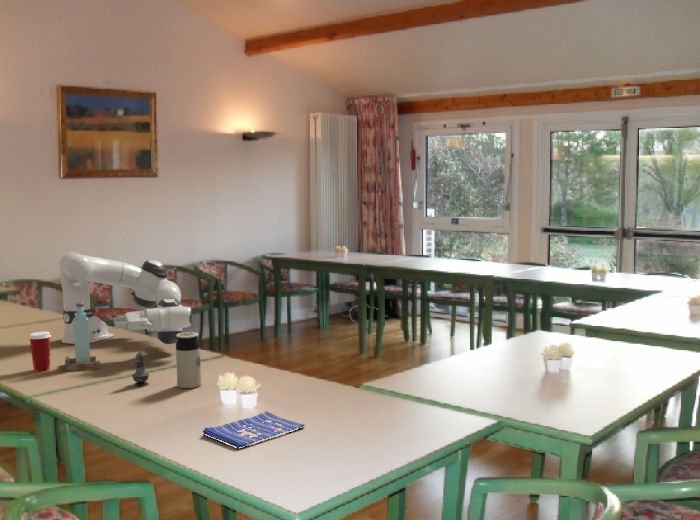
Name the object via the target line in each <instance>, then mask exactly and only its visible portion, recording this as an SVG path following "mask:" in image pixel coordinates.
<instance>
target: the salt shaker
mask: <svg viewBox="0 0 700 520" xmlns="http://www.w3.org/2000/svg"><path fill="white" fill-rule="evenodd" d="M134 365H135V372H134V373H132V375H131V376H132V379H133V382H134V383H133V384H132V385H133V387H136V388H139V387H141V388H142V387H146V386H149V385H150V383H149V382H148V380H149V377H150V372H147V371H146V368H145V367H146V362H145V355H144V353H143V352H141V350H139V351H138V353H136V355H135V363H134Z"/></svg>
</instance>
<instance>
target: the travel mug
mask: <svg viewBox="0 0 700 520" xmlns="http://www.w3.org/2000/svg"><path fill="white" fill-rule="evenodd" d="M199 334H200V333H198V332H193V331H190V332H189V331H187V332H186V331H185V332H182V333H179V334H177V335H176V337H177V339H178V341H177V343H175V355H176V377H177V379H176V380H177V382H176V383H177V388H180V389H183V388H190V389H196V388H198V387H200V386H201V385H202V371H201V368H202V367H201V346H200V345H201V343H200V341H199V340H198V338H199V337H198V336H199ZM195 387H196V388H195Z"/></svg>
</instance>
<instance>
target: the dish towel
mask: <svg viewBox="0 0 700 520" xmlns="http://www.w3.org/2000/svg"><path fill="white" fill-rule="evenodd" d="M266 420H271V421H272V422H271V423H269V422H265V421H266ZM262 422H264V423H262ZM275 423H278V424H281V425H282V426H284V427H282V426H279V425H277V424H275ZM251 424H252V425H251ZM270 424H271V425H270ZM243 425H246V426H245V427H244V426H243ZM271 426H273V427H275V428H272V427H271ZM303 426H305V427H306V425H305V424H302V423H299V422H296V421H292V420H289V419H285V418H282V417H280V416H279V417H278V416H277V415H275V414H273V413H271V412H269V411H267V410H265V411H264V412H261V413H259V414H257V415H253V416H252V417H247V418H244V419H239V420H237V421H233V422H230V423H226V424H223V425H218V426H210V427H204V429H203V430H202V434H203V433H204V434H207V435H209V436H211V437H214V438H216V439H219V440H222V441H224V442H227V443H229V444H231V445H234V446H236V447H237V448H239V447H243V446H246V445H249V444H252V443H254V442H257V441H259V440H262V439H266V438H269V437H272V436H275V435H277V434H280V433H283V432H286V431H290V430H294V429H296V428H300V427H303ZM248 427H252V428H251V429H250V428H248ZM258 427H259V428H260V429H259V428H258ZM276 428H282V430H281V431H278V430H277V429H276ZM303 428H304V427H303ZM242 429H245V431H247V432H251V433H253V434H256V435H257V433H261V435H258V436H257V437H252V438H249V436H250V435H247V434H246V435H247V436H246V435H244V436H241V435H239V434H241V433H243V432H237V431H239V430H242ZM254 429H255V430H256V431H253V430H254ZM275 430H276V431H277V432H274V431H275ZM204 434H203V435H204Z"/></svg>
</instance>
